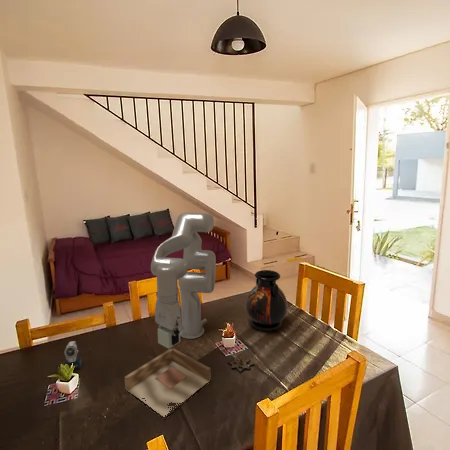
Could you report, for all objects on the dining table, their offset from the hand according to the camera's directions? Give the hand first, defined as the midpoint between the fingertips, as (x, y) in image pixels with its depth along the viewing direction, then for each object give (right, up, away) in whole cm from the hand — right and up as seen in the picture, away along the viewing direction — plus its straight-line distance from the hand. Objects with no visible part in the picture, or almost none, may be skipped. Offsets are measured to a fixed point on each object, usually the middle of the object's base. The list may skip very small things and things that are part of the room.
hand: (169, 340), depth 126 cm
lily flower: (+28, -16, +14) cm, 35 cm away
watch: (-42, -16, +12) cm, 47 cm away
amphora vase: (+43, -8, +46) cm, 63 cm away
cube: (0, -1, 0) cm, 1 cm away
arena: (0, -18, +1) cm, 18 cm away
